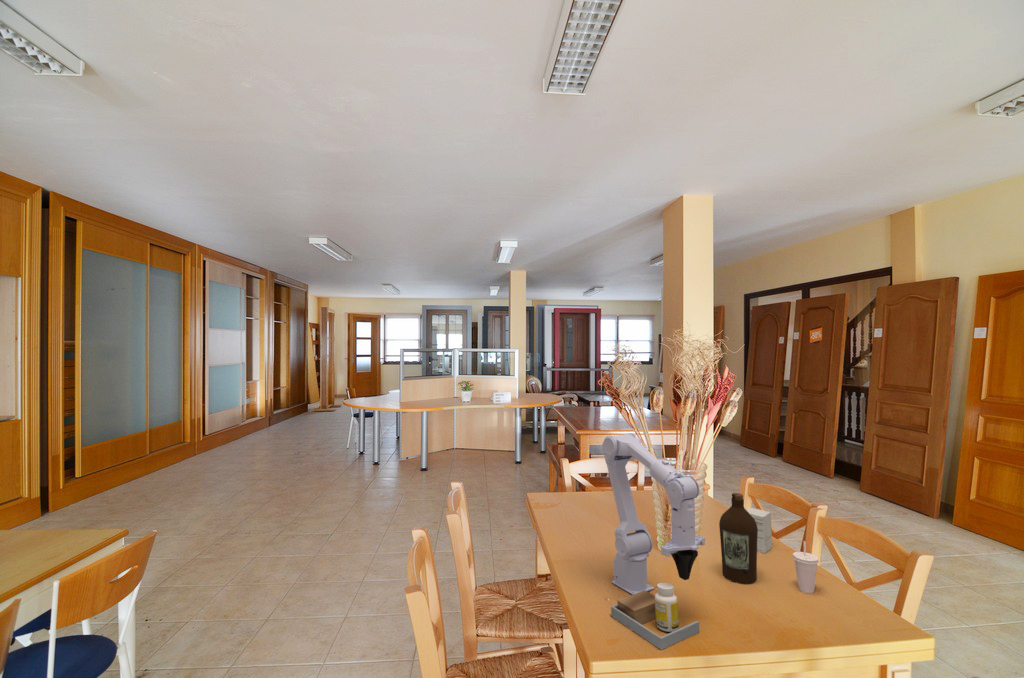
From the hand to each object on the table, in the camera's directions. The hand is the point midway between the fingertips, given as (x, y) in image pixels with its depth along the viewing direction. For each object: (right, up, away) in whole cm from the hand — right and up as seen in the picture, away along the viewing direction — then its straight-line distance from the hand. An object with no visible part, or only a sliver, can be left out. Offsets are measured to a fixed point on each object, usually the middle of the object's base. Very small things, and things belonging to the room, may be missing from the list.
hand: (684, 578), depth 121 cm
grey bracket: (-9, -10, -2) cm, 14 cm away
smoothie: (+41, -11, +14) cm, 44 cm away
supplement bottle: (-6, -10, -4) cm, 12 cm away
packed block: (-11, -11, +1) cm, 15 cm away
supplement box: (+42, -12, +45) cm, 63 cm away
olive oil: (+25, -11, +23) cm, 36 cm away
